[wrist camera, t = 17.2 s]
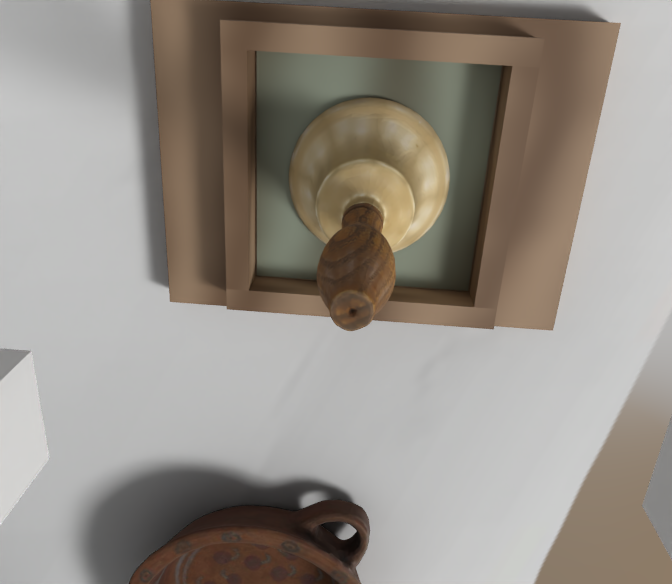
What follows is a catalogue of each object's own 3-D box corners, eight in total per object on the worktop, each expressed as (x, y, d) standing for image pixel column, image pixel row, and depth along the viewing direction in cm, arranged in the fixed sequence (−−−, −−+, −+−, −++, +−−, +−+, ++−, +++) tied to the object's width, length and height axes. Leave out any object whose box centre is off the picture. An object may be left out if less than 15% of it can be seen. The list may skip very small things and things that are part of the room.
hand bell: (263, 212, 33) (172, 367, 19) (333, 66, 30) (288, 117, 15) (398, 280, 34) (411, 476, 20) (480, 146, 31) (567, 264, 17)
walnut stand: (177, 291, 37) (158, 317, 34) (160, -3, 31) (134, -5, 27) (546, 318, 36) (562, 347, 33) (609, 22, 30) (637, 23, 27)
